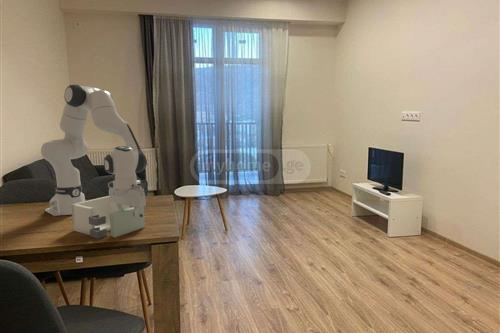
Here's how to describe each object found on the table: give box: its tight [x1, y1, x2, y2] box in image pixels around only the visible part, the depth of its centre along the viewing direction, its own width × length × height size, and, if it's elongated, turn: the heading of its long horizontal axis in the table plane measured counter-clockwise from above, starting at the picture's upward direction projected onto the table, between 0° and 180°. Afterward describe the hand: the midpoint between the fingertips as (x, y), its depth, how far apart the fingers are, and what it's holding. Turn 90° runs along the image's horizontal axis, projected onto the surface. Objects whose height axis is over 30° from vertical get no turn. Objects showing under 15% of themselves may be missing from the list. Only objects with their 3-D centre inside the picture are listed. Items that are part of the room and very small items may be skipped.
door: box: [110, 206, 146, 238], centre depth 151 cm, size 3×16×10 cm, turn 147°
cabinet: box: [71, 195, 131, 239], centre depth 156 cm, size 19×21×12 cm
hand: (128, 214), depth 151 cm, fingers open, 8 cm apart
